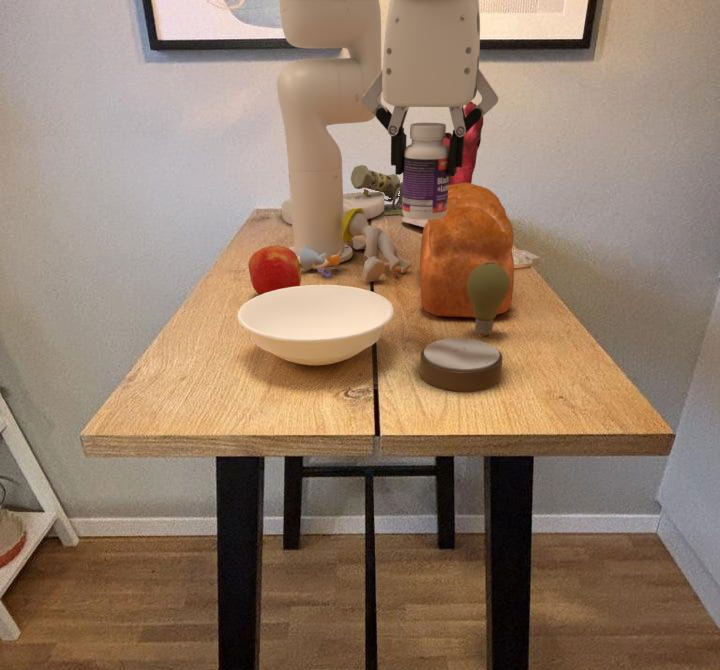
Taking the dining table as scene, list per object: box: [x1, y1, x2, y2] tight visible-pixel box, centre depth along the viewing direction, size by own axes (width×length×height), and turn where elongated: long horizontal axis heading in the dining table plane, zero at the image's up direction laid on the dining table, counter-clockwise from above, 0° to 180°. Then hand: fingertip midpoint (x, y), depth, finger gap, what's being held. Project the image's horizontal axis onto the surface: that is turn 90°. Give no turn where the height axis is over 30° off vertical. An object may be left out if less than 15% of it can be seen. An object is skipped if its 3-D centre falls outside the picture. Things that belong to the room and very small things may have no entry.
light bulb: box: [467, 262, 509, 337], centre depth 89 cm, size 6×6×10 cm
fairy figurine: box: [298, 246, 343, 279], centre depth 116 cm, size 12×5×12 cm
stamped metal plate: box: [512, 247, 541, 269], centre depth 120 cm, size 8×7×2 cm
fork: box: [351, 237, 367, 251], centre depth 131 cm, size 3×21×3 cm, turn 24°
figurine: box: [342, 208, 412, 283], centre depth 115 cm, size 10×9×15 cm
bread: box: [419, 182, 515, 318], centre depth 102 cm, size 14×26×16 cm, turn 176°
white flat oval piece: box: [280, 192, 385, 225], centre depth 152 cm, size 22×28×3 cm
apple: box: [247, 245, 302, 295], centre depth 103 cm, size 8×8×8 cm
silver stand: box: [419, 337, 504, 392], centre depth 81 cm, size 10×10×3 cm
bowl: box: [237, 284, 395, 366], centre depth 85 cm, size 20×20×6 cm
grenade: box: [350, 164, 403, 209], centre depth 153 cm, size 7×7×15 cm
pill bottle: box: [401, 122, 449, 220], centre depth 76 cm, size 5×5×10 cm
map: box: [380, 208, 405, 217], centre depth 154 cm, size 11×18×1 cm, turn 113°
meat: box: [401, 101, 484, 228], centre depth 140 cm, size 23×24×25 cm
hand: (426, 171), depth 76 cm, fingers closed on pill bottle, 5 cm apart
